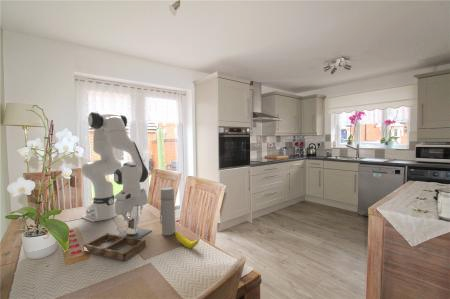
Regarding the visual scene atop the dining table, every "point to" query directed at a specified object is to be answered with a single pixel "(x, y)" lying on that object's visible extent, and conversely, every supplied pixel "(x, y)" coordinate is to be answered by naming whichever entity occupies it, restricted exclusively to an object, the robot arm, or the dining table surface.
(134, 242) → the frame
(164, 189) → the water bottle
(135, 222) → the beer glass
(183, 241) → the banana
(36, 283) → the dining table surface
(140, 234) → the charcoal mat
